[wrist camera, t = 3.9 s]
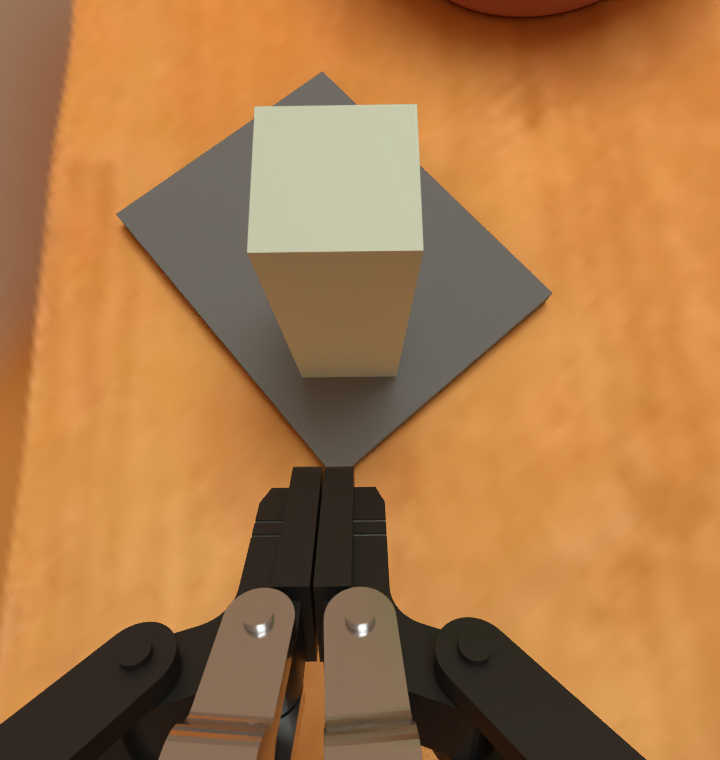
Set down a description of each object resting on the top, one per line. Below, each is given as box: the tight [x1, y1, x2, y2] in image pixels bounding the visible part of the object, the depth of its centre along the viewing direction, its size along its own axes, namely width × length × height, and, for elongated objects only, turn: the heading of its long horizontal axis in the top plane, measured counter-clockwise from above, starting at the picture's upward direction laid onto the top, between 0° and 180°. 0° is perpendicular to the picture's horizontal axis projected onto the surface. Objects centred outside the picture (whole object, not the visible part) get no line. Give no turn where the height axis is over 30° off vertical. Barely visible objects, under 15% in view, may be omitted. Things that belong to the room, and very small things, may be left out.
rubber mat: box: [116, 72, 552, 467], centre depth 27 cm, size 18×14×1 cm
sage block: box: [247, 104, 424, 378], centre depth 20 cm, size 4×4×12 cm
